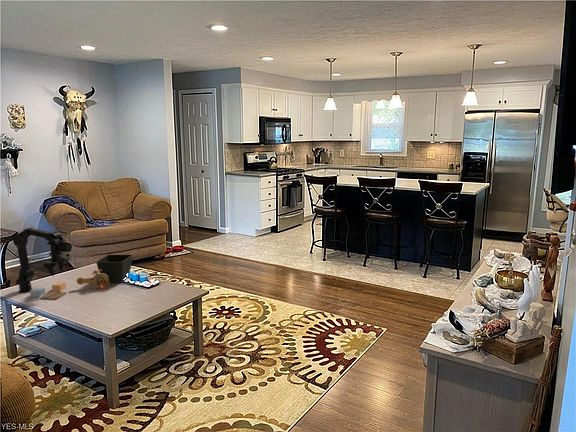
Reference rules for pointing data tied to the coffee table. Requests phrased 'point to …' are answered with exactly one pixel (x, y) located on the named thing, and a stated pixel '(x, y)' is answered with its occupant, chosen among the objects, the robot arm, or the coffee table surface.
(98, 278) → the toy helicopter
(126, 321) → the coffee table surface
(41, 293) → the slate-blue block
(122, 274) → the flower pot
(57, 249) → the robot arm
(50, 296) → the walnut base plate
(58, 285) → the terracotta block
